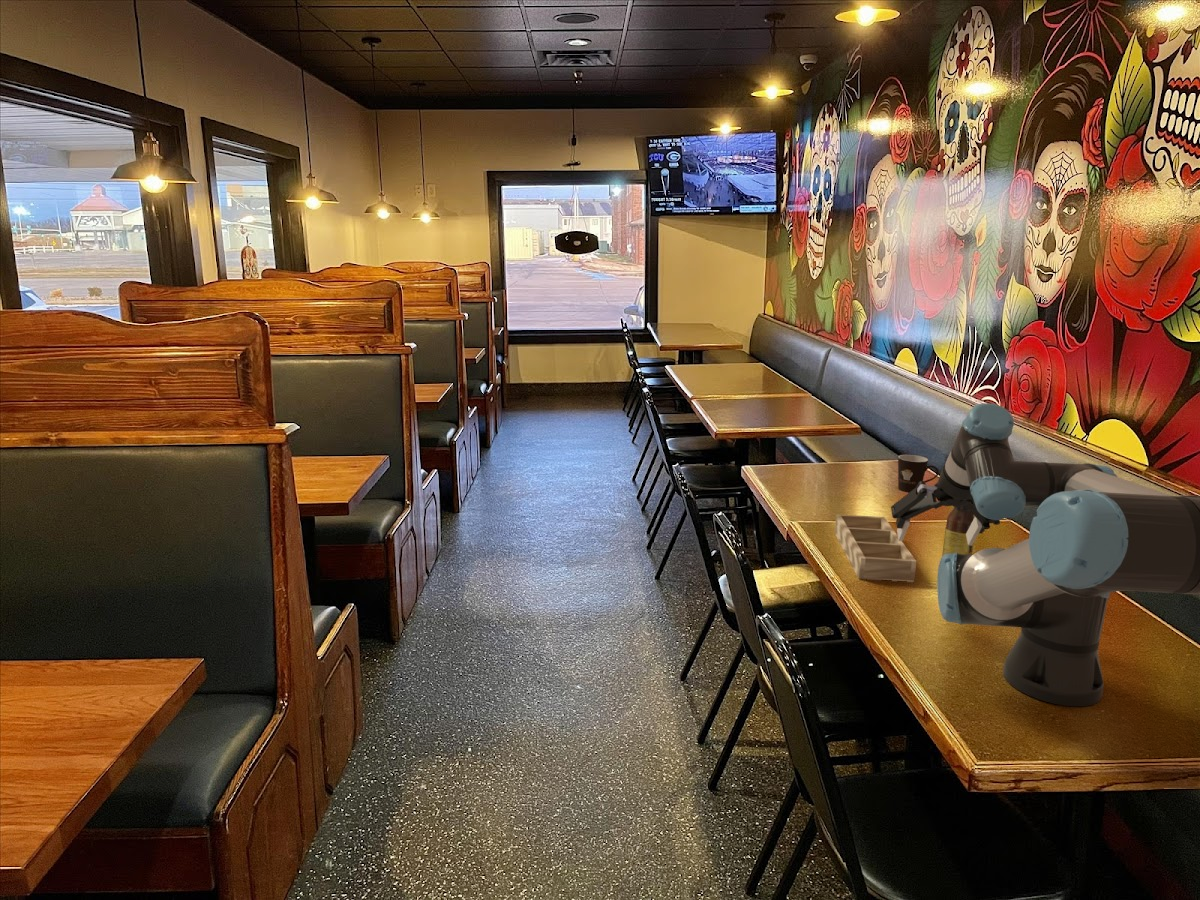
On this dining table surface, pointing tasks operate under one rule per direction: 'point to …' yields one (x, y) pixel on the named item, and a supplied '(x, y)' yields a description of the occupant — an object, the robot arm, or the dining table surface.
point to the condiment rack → (874, 548)
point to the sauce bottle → (957, 531)
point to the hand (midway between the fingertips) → (934, 537)
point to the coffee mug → (912, 471)
